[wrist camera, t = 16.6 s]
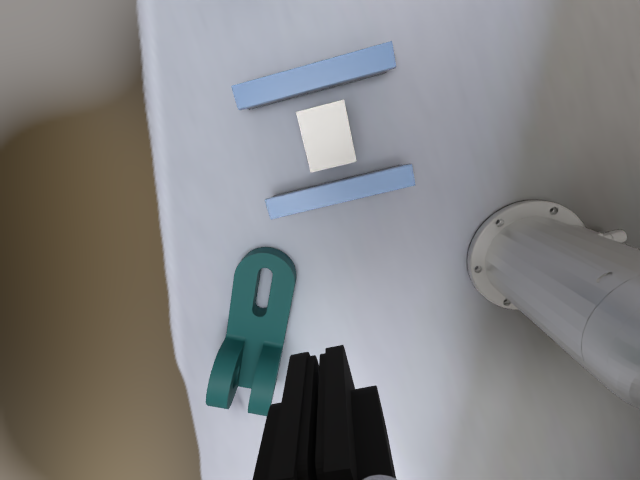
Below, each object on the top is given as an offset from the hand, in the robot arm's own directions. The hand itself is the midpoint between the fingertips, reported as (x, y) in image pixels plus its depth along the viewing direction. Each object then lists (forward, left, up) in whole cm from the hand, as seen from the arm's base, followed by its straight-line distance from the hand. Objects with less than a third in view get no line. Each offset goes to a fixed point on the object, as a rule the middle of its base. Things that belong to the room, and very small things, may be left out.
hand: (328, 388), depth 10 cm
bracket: (+11, +11, -28) cm, 32 cm away
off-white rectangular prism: (-1, -8, -27) cm, 28 cm away
